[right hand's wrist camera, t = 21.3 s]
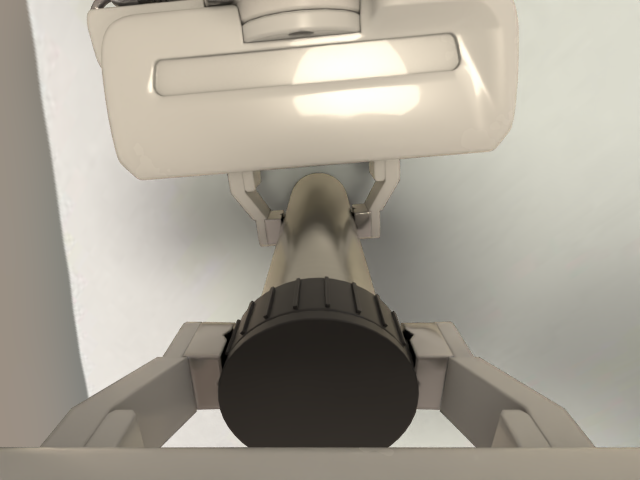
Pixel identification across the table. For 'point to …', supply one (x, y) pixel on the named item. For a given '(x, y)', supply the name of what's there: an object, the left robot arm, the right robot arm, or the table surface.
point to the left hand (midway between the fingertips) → (320, 239)
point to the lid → (318, 369)
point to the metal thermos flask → (318, 237)
